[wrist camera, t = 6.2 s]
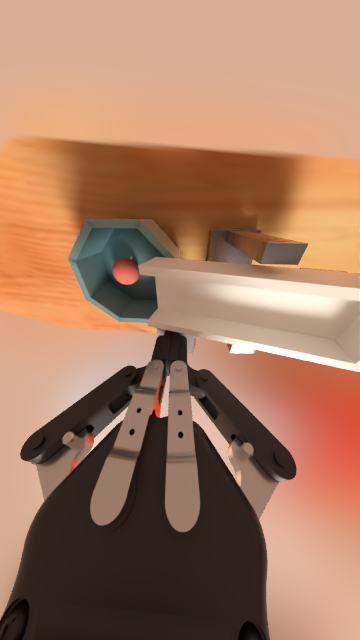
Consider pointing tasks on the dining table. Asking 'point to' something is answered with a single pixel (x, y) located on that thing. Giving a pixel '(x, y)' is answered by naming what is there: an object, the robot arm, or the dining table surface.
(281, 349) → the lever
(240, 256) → the lever stand
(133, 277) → the ball
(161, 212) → the dining table surface
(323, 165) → the dining table surface
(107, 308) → the teal octagonal bowl
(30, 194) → the dining table surface
